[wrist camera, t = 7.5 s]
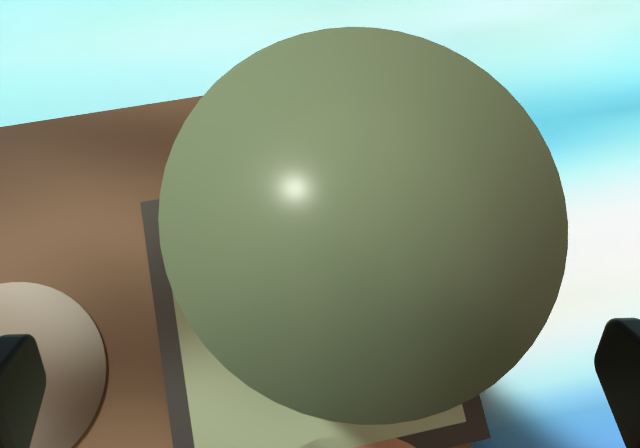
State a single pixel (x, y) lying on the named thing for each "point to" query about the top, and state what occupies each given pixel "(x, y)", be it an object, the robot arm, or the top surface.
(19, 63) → the top surface
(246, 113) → the ball
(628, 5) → the top surface
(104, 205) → the picture board
